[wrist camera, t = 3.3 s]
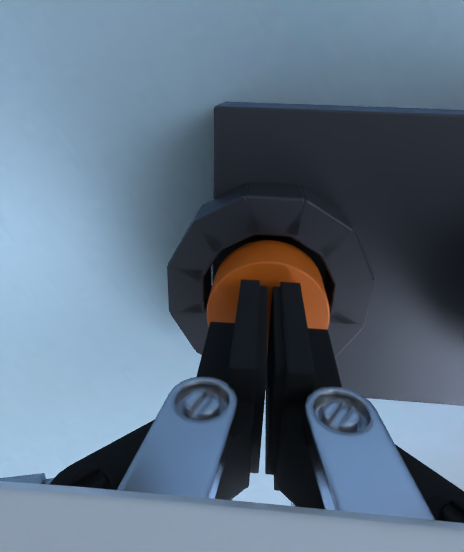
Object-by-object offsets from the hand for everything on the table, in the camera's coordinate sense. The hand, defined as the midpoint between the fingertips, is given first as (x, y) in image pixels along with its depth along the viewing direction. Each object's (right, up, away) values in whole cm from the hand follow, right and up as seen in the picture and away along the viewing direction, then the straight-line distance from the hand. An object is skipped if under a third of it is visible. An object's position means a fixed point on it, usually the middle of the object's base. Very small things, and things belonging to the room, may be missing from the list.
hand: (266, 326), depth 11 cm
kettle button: (0, +1, +2) cm, 2 cm away
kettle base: (+7, +3, +5) cm, 9 cm away
